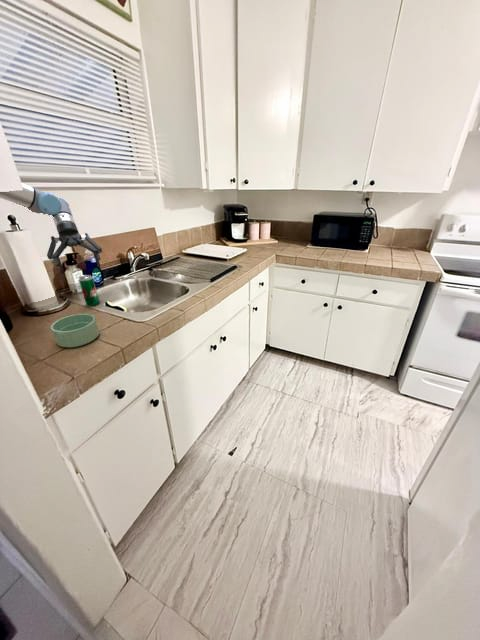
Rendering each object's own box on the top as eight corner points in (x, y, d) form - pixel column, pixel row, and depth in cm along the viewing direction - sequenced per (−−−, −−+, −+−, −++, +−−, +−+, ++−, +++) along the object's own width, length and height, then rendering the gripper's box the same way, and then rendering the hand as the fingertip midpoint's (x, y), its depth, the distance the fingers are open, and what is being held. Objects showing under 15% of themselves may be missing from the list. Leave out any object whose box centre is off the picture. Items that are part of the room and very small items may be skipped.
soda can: (96, 306, 107) (87, 278, 101) (83, 306, 107) (75, 278, 101) (102, 301, 111) (94, 274, 106) (90, 301, 111) (82, 274, 106)
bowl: (47, 347, 80) (40, 330, 78) (74, 328, 91) (69, 312, 88) (84, 350, 79) (78, 333, 76) (107, 330, 90) (102, 314, 87)
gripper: (28, 223, 103) (44, 269, 99) (97, 218, 116) (113, 259, 112) (33, 235, 109) (48, 279, 106) (98, 229, 122) (113, 268, 118)
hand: (81, 269), depth 109 cm, fingers open, 13 cm apart
